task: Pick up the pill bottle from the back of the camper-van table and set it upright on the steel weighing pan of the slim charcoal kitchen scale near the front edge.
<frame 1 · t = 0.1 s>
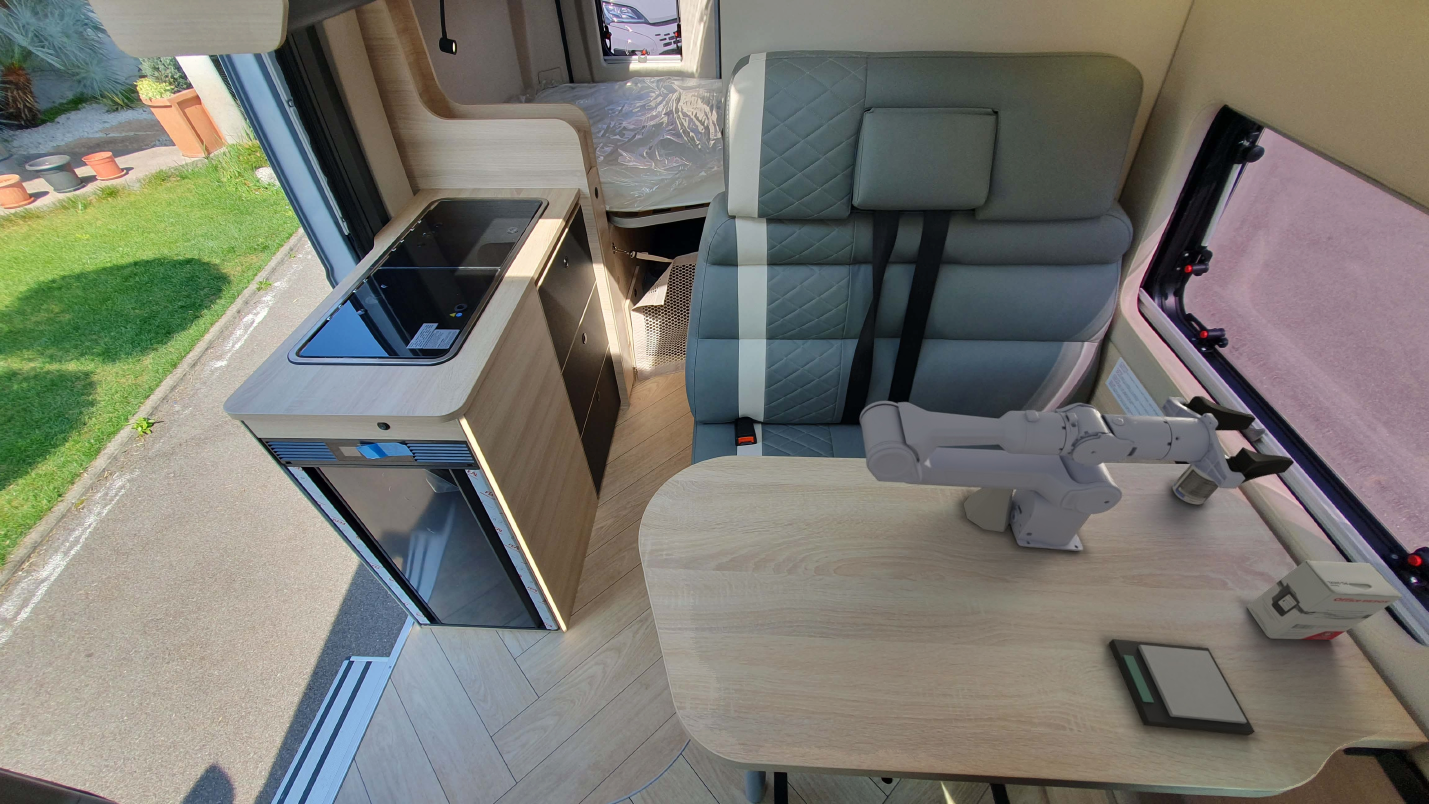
hand: (1267, 443, 74), 21 cm above the table, tool horizontal, fingers open, 7 cm apart
ink box: (1286, 623, 79), on the table
pill bottle: (1187, 494, 95), on the table
scale: (1174, 686, 72), on the table
flask: (985, 514, 91), on the table, touching arm
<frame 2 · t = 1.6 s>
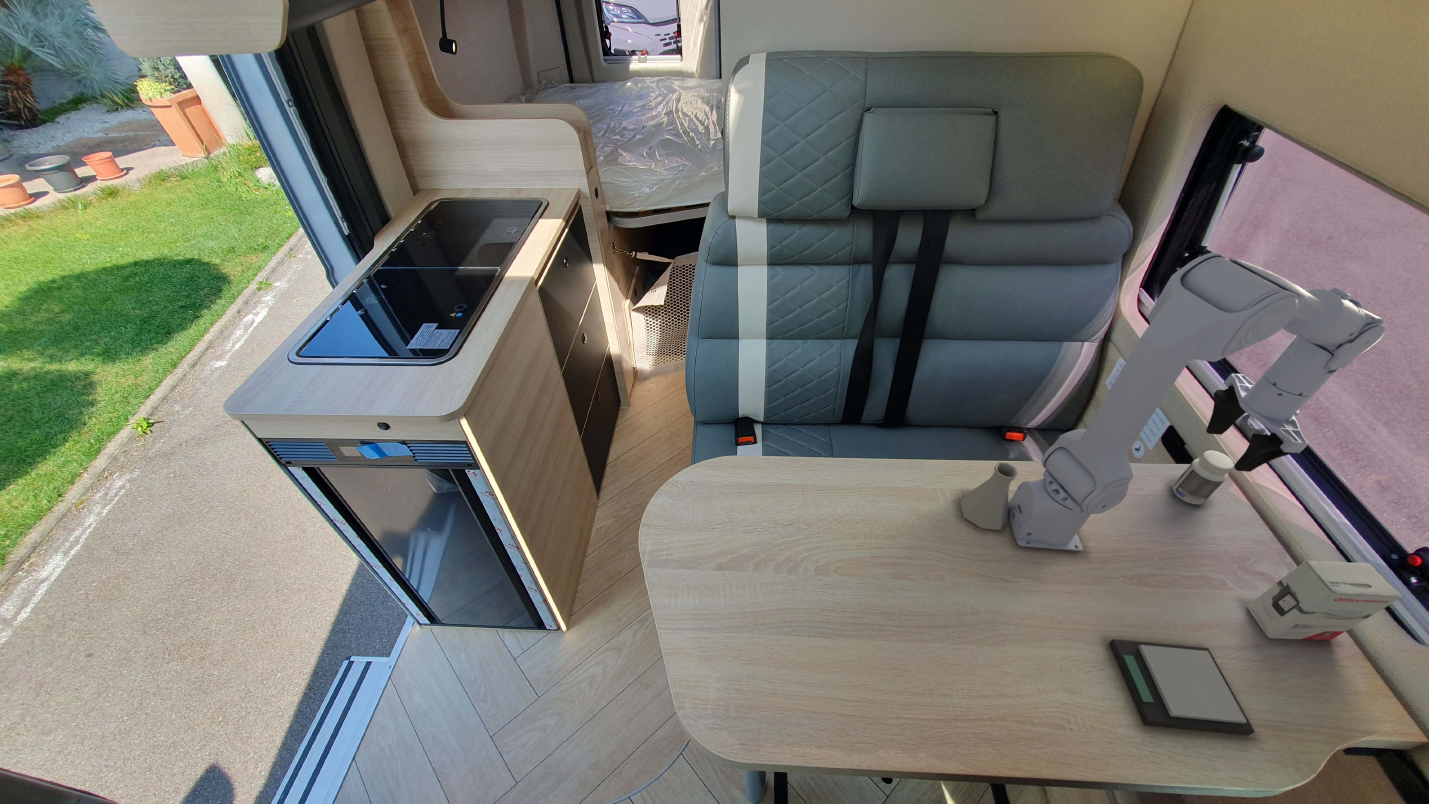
hand: (1227, 450, 88), 10 cm above the table, tool pointing down, fingers open, 7 cm apart
nothing on the table moved.
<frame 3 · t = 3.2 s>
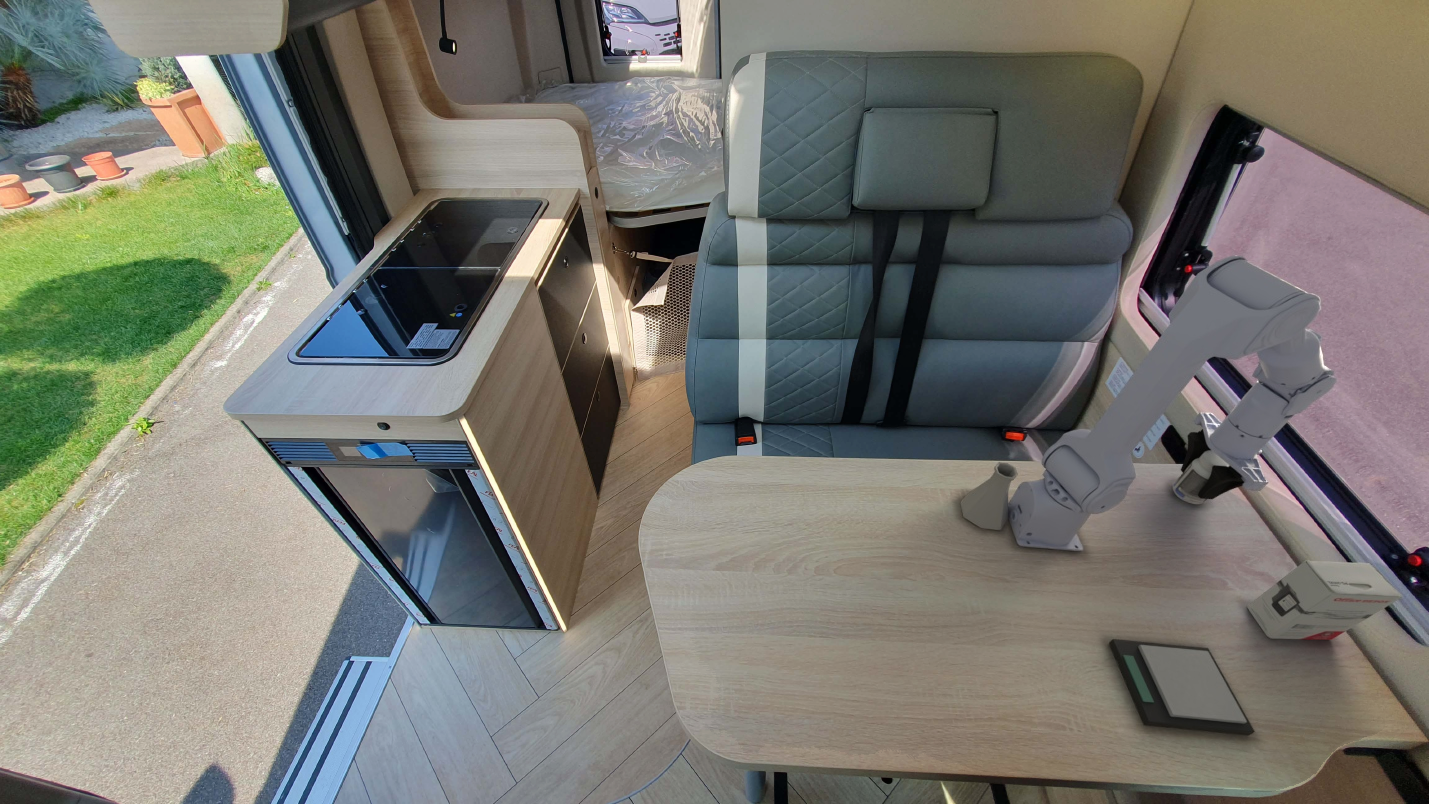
hand: (1196, 484, 93), 2 cm above the table, tool pointing down, fingers closed on pill bottle, 5 cm apart
pill bottle: (1187, 494, 95), on the table, touching gripper
everything else where it was.
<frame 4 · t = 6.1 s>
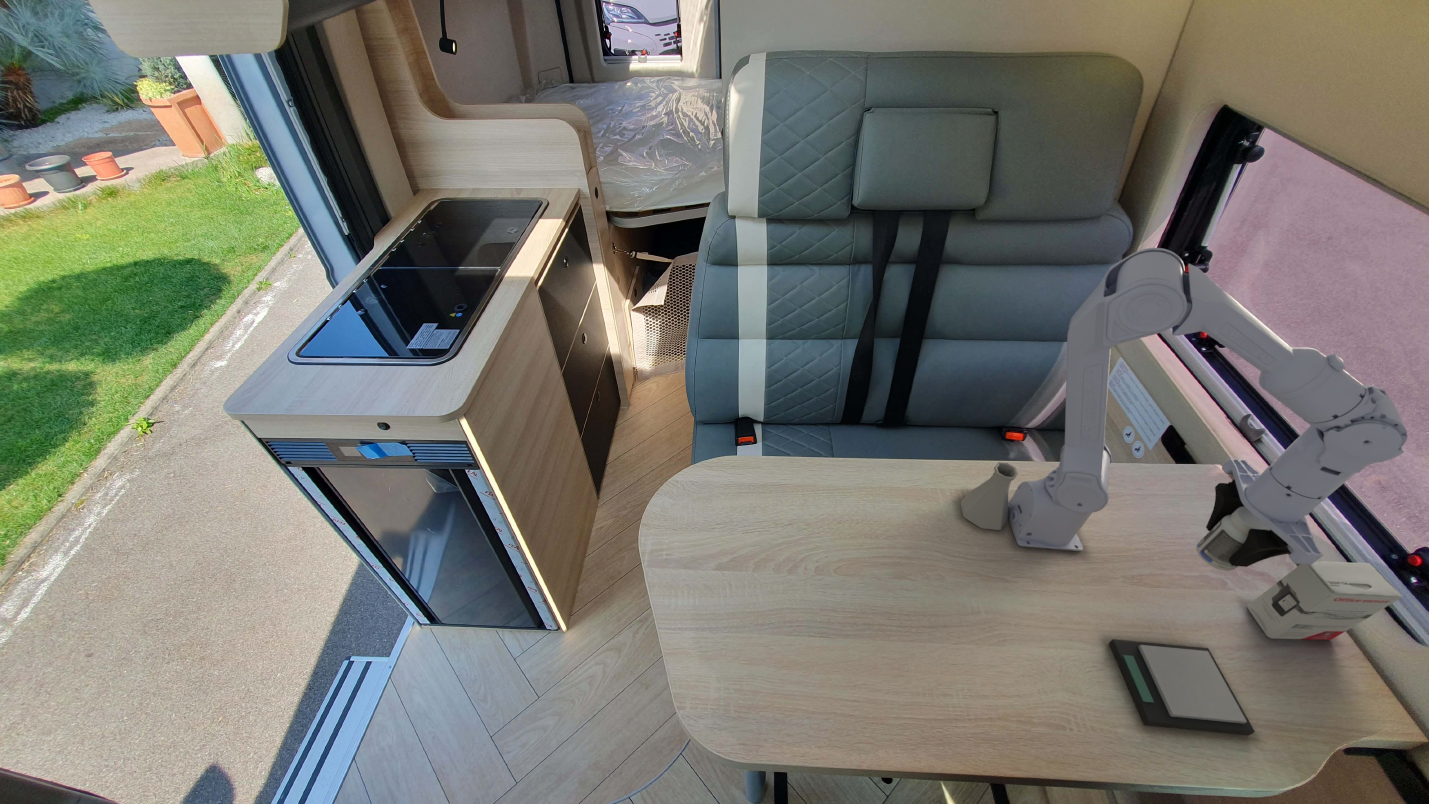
hand: (1226, 546, 76), 9 cm above the table, tool pointing down, fingers closed on pill bottle, 5 cm apart
pill bottle: (1214, 557, 78), point 7 cm above the table, touching gripper
everything else where it was.
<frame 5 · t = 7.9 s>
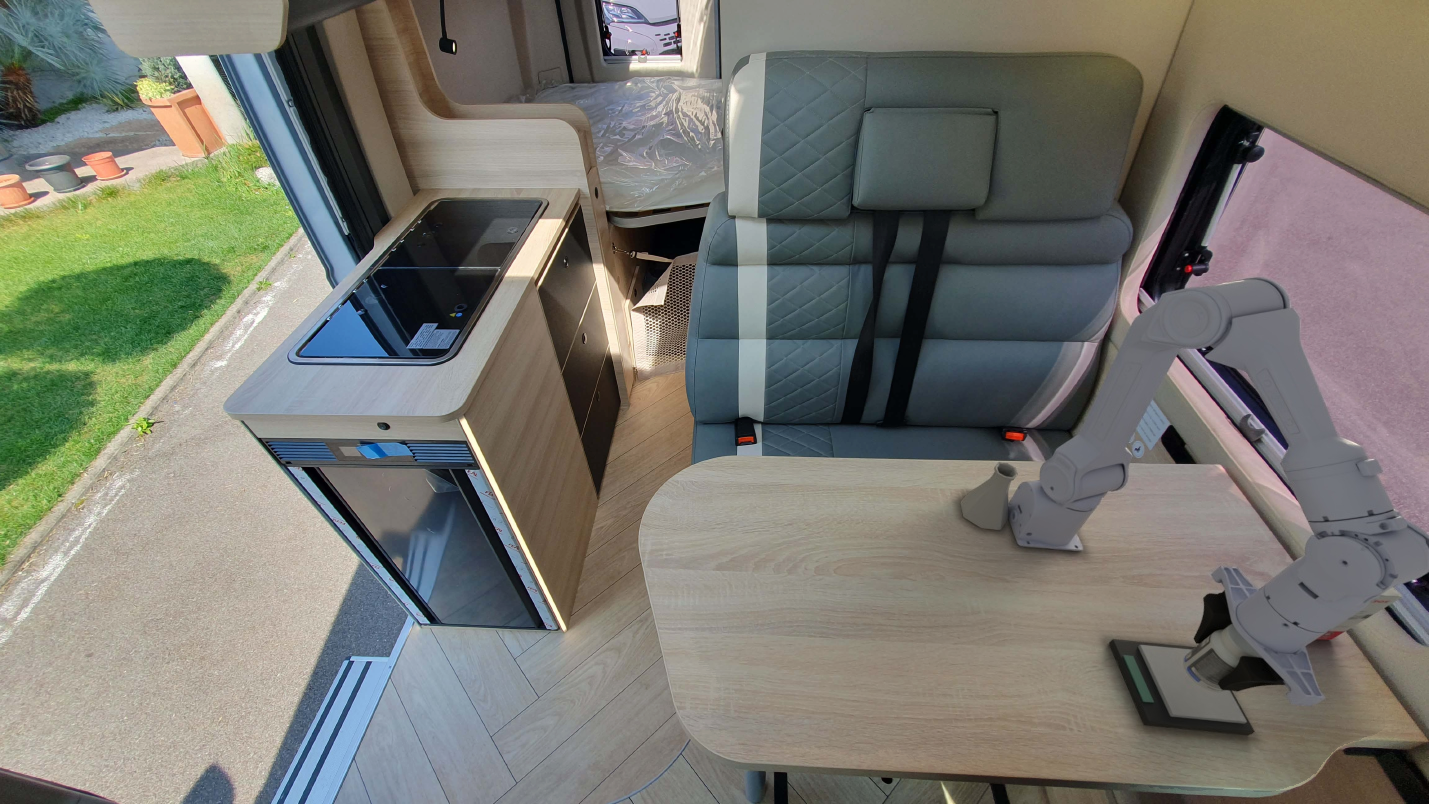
hand: (1215, 664, 67), 7 cm above the table, tool pointing down, fingers closed on pill bottle, 5 cm apart
pill bottle: (1203, 673, 69), point 4 cm above the table, touching gripper
everything else where it was.
when the fingers open (4 cm above the table, at t = 9.1 s): pill bottle stays where it is, resting on scale.
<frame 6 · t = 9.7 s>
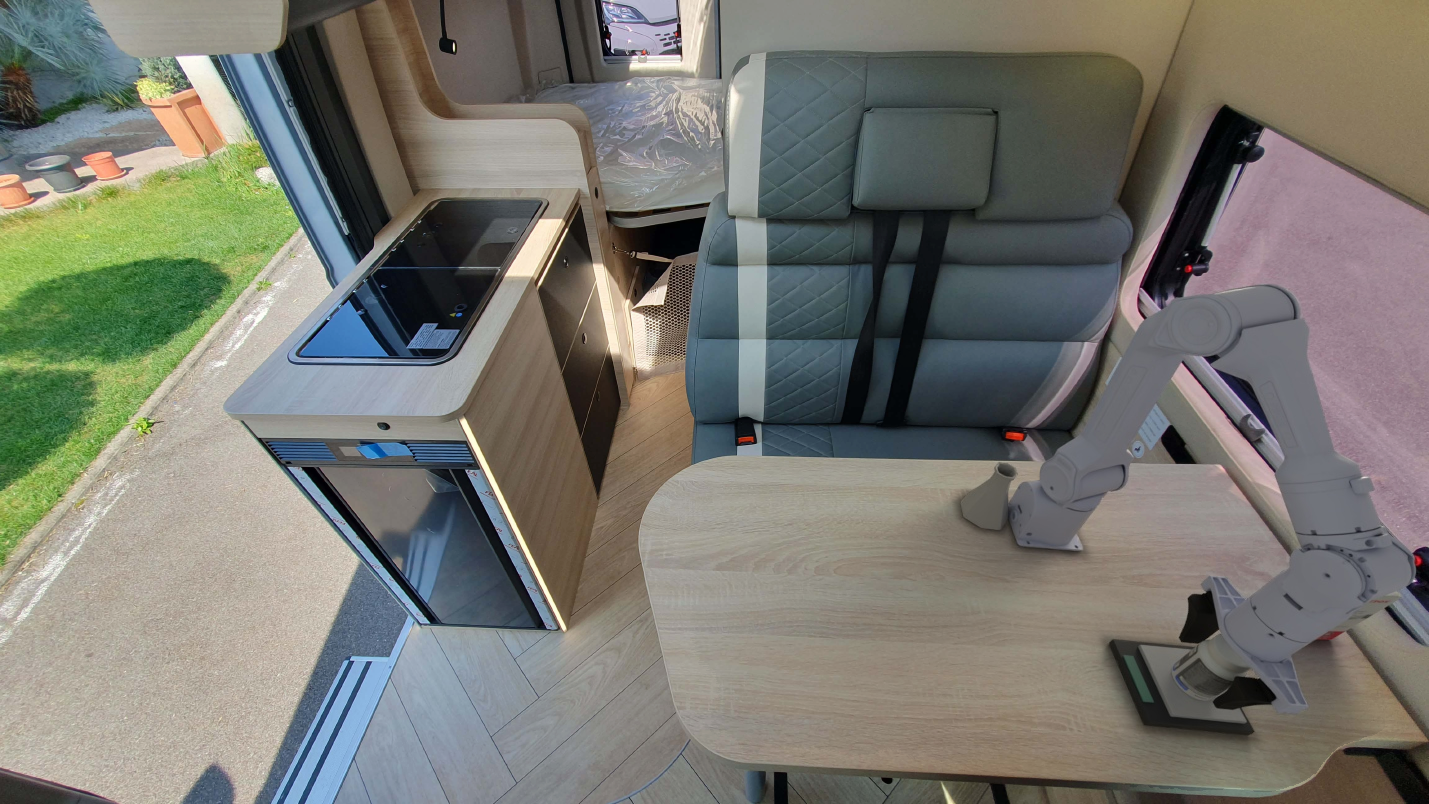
hand: (1204, 671, 69), 5 cm above the table, tool pointing down, fingers open, 7 cm apart
pill bottle: (1191, 681, 71), point 2 cm above the table, touching scale
everything else where it was.
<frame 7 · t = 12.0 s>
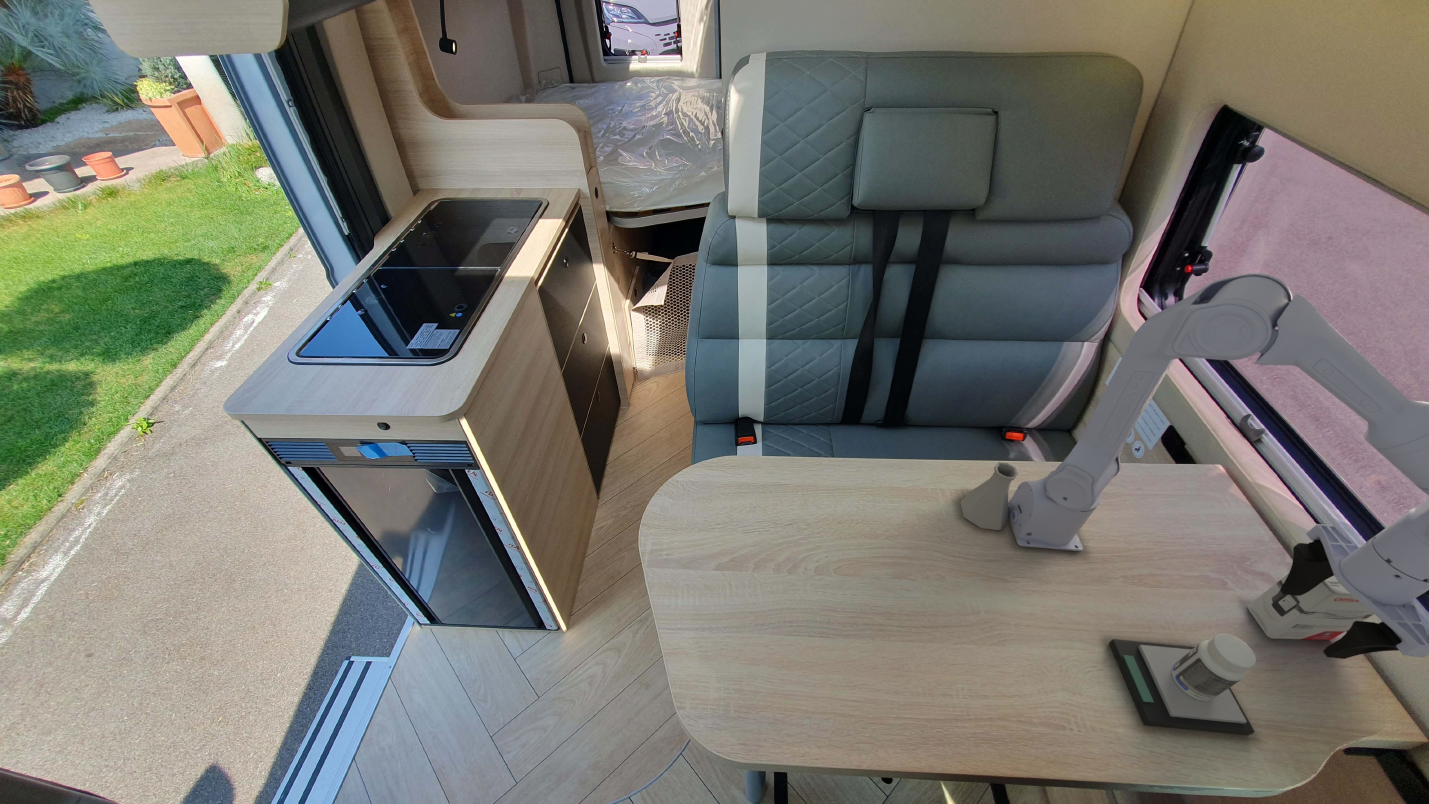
hand: (1310, 622, 67), 10 cm above the table, tool pointing down, fingers open, 7 cm apart
nothing on the table moved.
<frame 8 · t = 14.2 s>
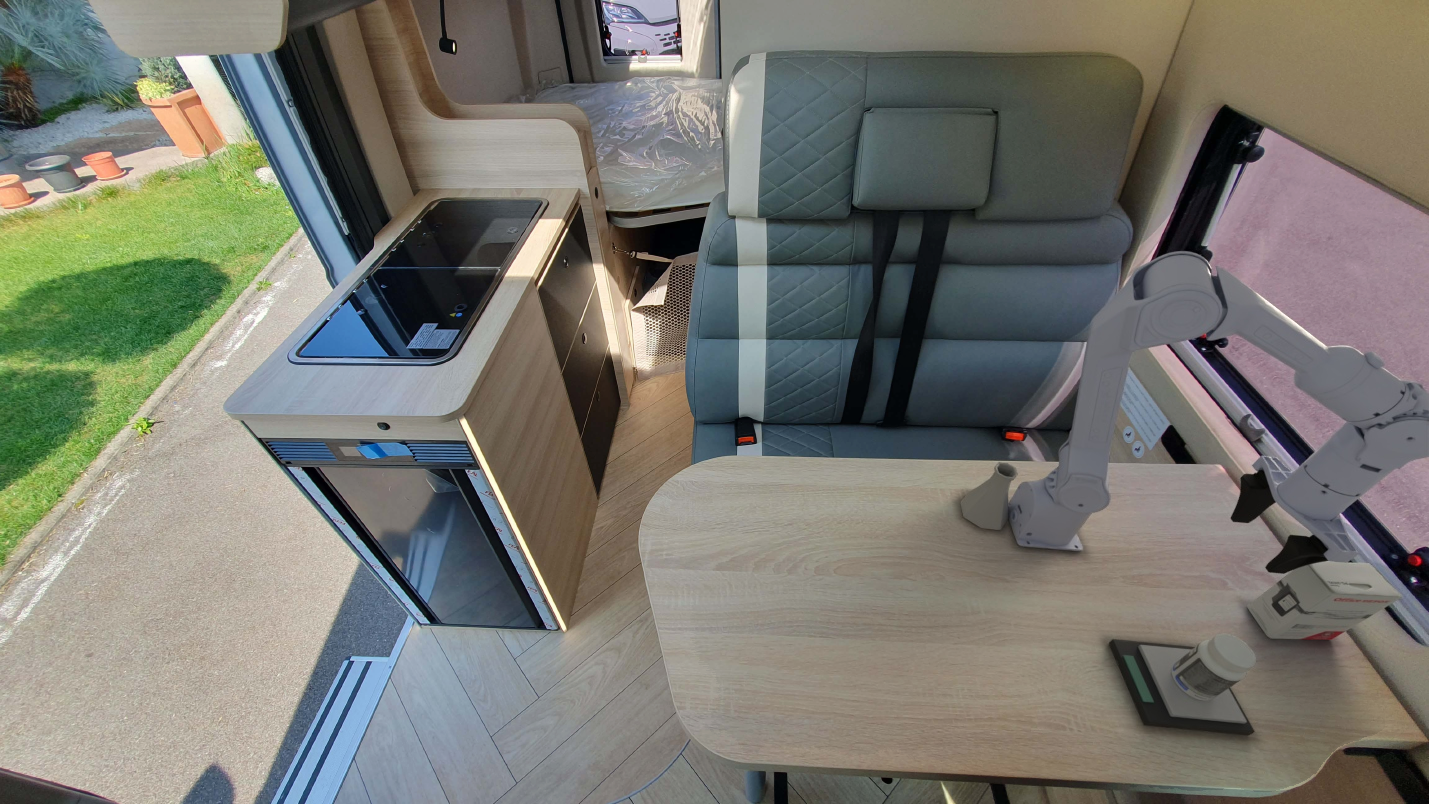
hand: (1256, 544, 75), 10 cm above the table, tool pointing down, fingers open, 7 cm apart
nothing on the table moved.
at the end: pill bottle inside the target area on the scale (0.1 cm from its centre), point 1.6 cm above the scale's base; pill bottle tilted 0°; the gripper is holding nothing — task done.
